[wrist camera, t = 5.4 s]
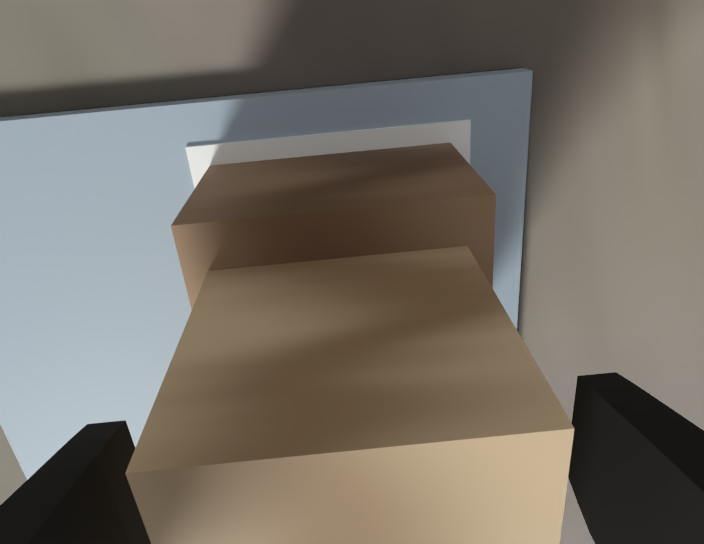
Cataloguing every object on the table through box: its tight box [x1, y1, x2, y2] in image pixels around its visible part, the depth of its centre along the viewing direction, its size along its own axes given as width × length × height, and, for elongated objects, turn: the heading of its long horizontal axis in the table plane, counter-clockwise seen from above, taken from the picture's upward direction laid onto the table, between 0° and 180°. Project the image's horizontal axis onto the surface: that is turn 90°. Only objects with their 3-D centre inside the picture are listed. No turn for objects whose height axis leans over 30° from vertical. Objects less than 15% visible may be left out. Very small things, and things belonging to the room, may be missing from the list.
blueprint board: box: [0, 68, 533, 480], centre depth 17 cm, size 16×15×1 cm
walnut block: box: [171, 143, 496, 309], centre depth 13 cm, size 6×6×4 cm
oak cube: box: [125, 246, 574, 544], centre depth 9 cm, size 5×5×5 cm
